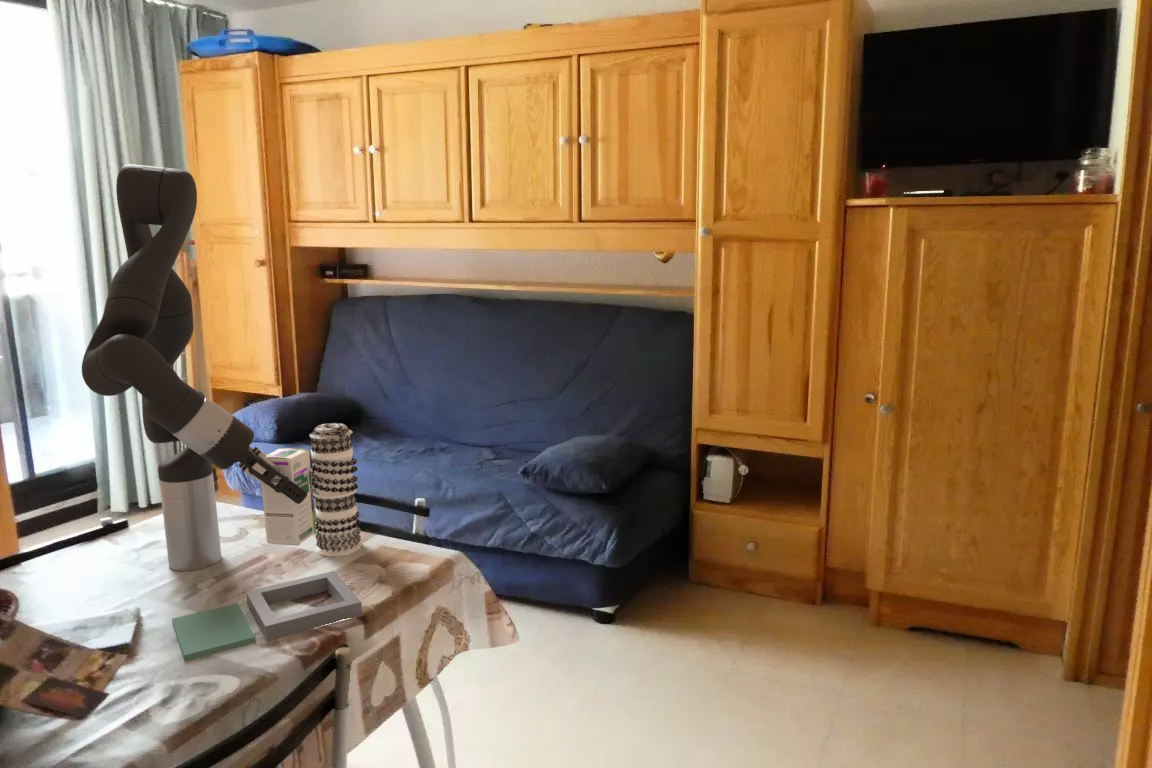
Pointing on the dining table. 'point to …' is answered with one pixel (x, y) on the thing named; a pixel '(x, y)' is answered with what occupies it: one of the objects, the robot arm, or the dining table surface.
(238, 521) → the dining table surface
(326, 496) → the decorative candle
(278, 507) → the syrup box
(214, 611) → the pad
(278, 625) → the pocket board
